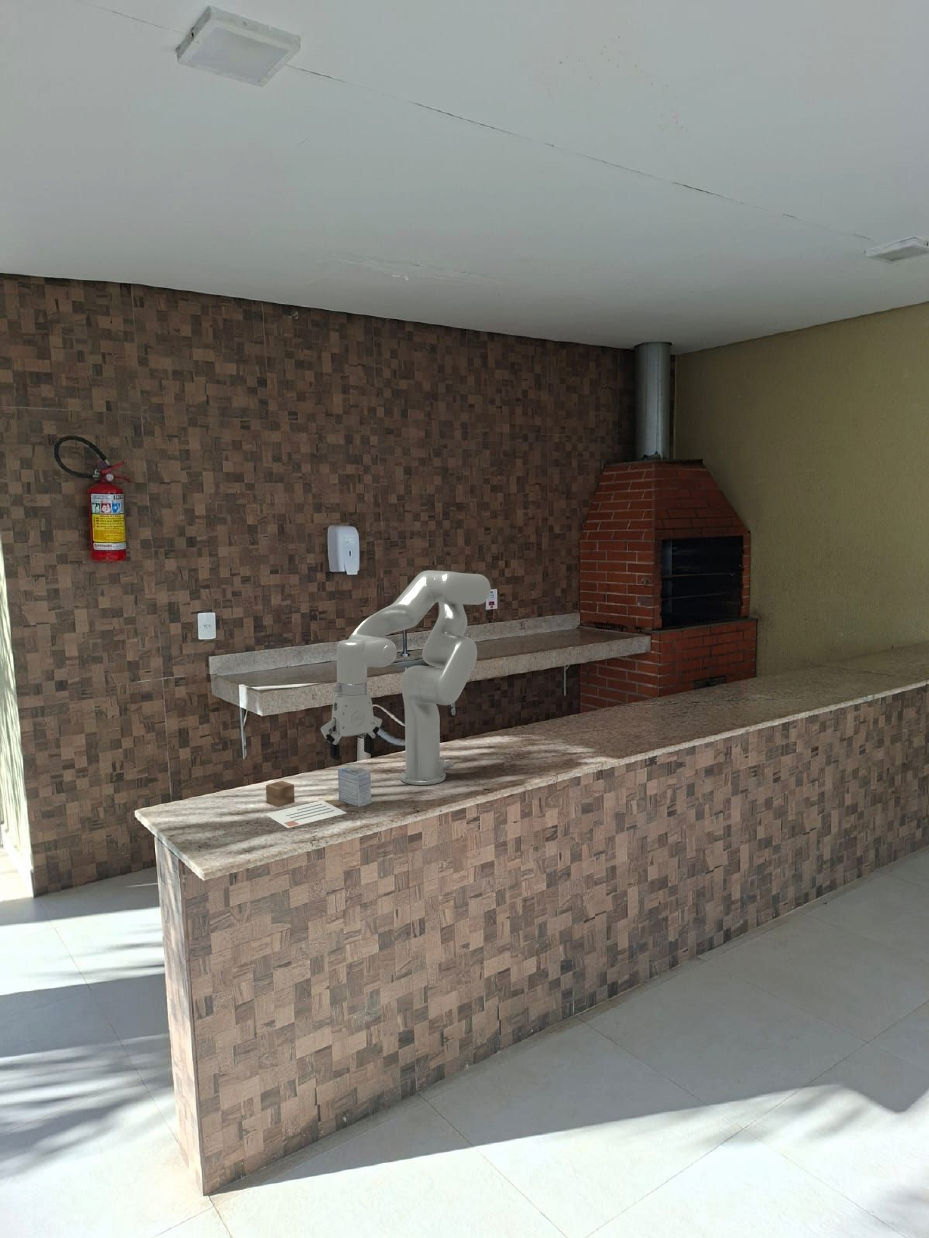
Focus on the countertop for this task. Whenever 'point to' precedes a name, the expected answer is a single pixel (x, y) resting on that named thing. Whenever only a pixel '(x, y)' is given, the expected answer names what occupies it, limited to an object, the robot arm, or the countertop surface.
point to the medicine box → (354, 786)
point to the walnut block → (280, 793)
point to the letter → (305, 813)
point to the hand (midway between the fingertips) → (352, 755)
